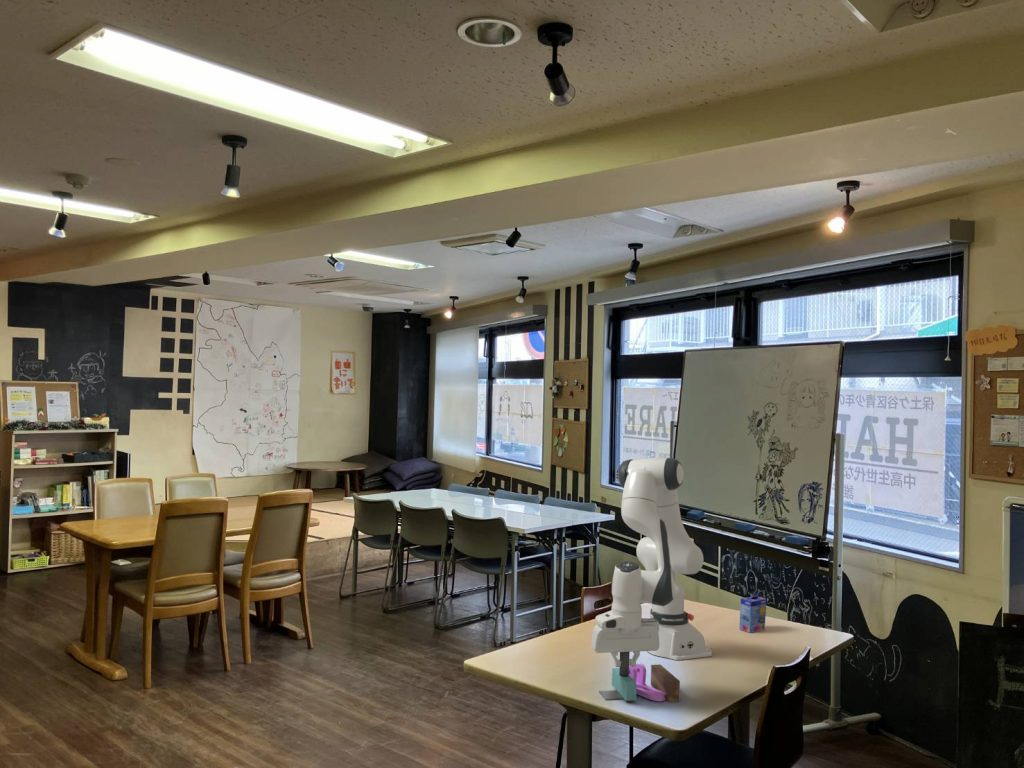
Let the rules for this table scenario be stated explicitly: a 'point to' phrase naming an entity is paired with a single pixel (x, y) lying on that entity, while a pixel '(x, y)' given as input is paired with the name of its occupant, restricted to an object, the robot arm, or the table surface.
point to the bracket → (641, 688)
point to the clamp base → (654, 685)
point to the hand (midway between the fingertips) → (625, 666)
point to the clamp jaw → (624, 679)
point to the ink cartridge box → (752, 613)
